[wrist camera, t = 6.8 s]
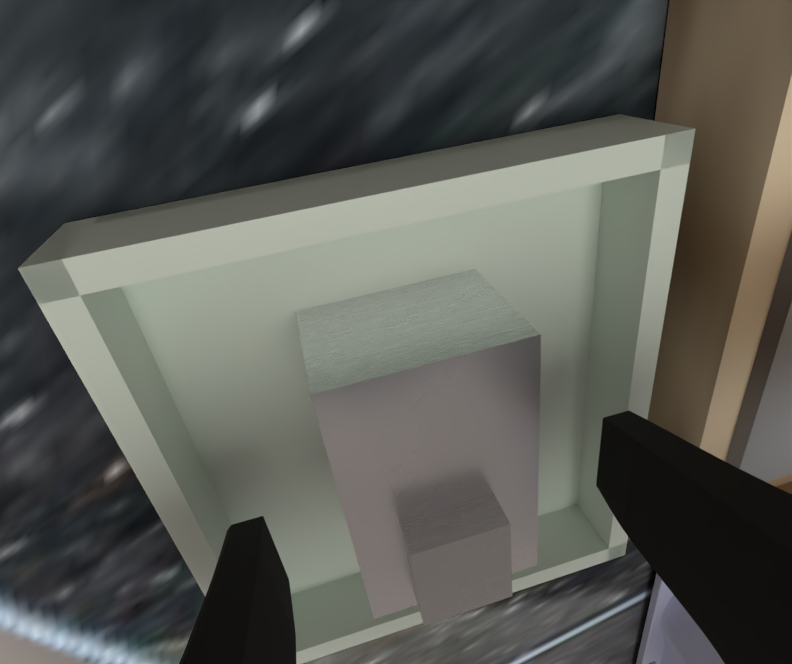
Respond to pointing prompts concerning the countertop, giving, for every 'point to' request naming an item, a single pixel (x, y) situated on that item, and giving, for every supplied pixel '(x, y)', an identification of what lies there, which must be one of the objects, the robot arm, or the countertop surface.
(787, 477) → the hand plane
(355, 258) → the parts tray
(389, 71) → the countertop surface
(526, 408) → the lever cap
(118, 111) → the countertop surface
